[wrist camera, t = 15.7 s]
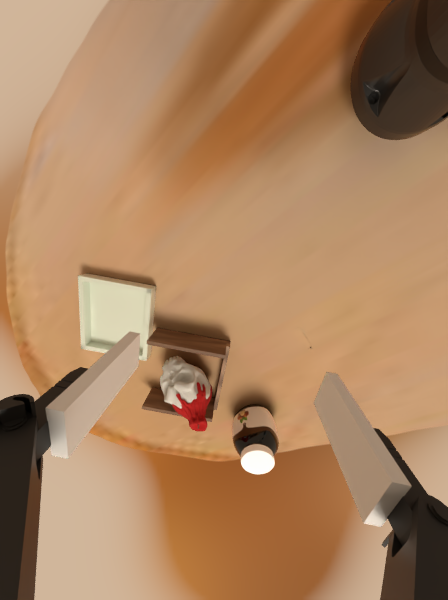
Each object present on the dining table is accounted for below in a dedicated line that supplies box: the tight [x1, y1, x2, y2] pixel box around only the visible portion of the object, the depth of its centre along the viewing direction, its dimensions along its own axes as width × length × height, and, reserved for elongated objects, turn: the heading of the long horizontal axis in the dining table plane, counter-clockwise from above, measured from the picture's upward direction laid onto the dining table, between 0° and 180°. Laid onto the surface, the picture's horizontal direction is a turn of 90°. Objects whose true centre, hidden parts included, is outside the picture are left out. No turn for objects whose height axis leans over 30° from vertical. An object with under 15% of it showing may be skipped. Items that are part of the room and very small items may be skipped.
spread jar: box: [233, 405, 279, 474], centre depth 49 cm, size 12×11×12 cm
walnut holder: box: [142, 328, 230, 422], centre depth 47 cm, size 18×17×6 cm
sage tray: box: [78, 273, 156, 361], centre depth 46 cm, size 17×15×3 cm
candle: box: [160, 355, 212, 431], centre depth 46 cm, size 9×11×15 cm
